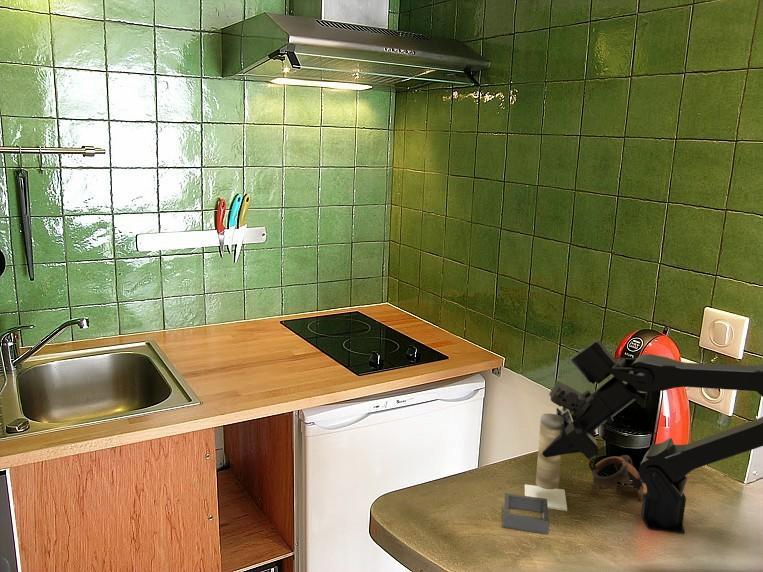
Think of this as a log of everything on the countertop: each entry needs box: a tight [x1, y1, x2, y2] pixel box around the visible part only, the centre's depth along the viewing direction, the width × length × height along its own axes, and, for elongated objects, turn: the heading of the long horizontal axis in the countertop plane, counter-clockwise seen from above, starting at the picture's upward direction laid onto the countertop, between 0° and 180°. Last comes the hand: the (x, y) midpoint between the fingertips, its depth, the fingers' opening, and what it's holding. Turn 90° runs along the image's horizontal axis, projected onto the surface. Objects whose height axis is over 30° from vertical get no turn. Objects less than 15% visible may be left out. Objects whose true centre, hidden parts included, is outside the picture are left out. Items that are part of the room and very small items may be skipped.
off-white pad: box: [524, 484, 568, 512], centre depth 126 cm, size 8×8×1 cm
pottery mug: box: [591, 454, 645, 502], centre depth 130 cm, size 12×10×8 cm
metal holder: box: [502, 493, 550, 535], centre depth 118 cm, size 8×8×2 cm
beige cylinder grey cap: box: [535, 413, 564, 489], centre depth 124 cm, size 4×4×14 cm
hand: (542, 450), depth 124 cm, fingers closed on beige cylinder grey cap, 4 cm apart
